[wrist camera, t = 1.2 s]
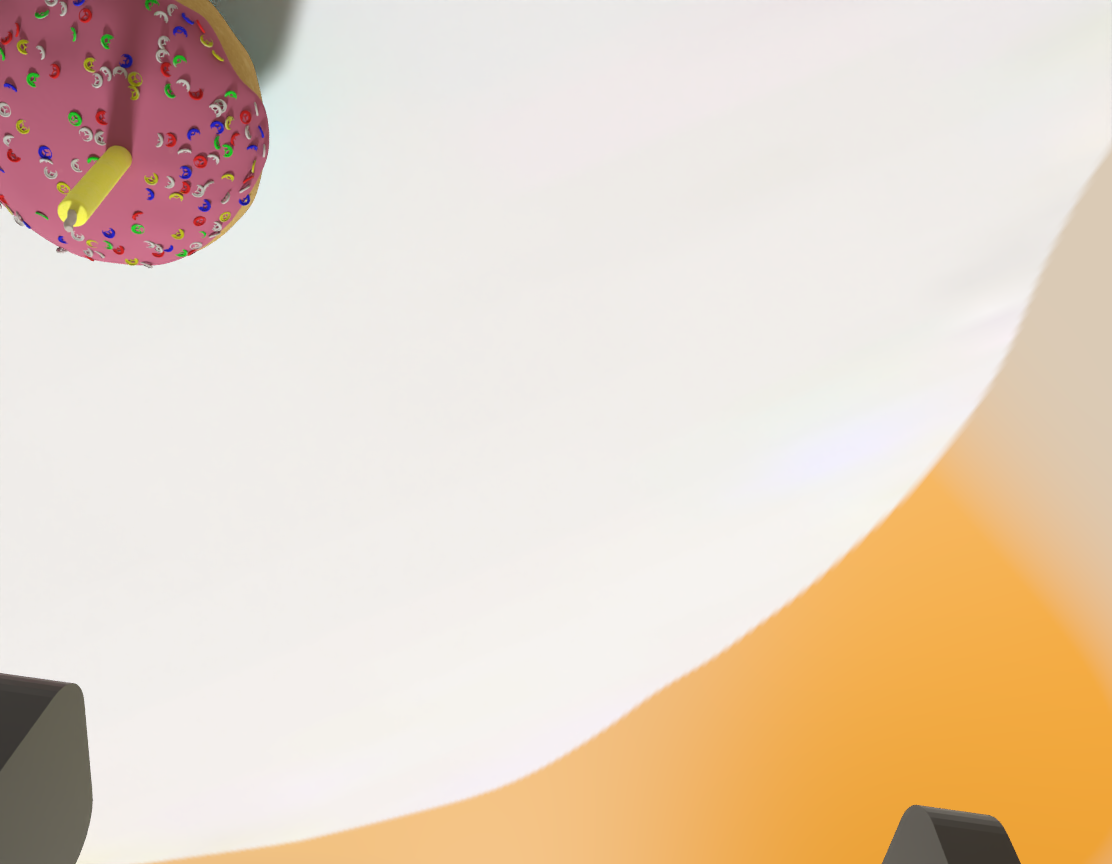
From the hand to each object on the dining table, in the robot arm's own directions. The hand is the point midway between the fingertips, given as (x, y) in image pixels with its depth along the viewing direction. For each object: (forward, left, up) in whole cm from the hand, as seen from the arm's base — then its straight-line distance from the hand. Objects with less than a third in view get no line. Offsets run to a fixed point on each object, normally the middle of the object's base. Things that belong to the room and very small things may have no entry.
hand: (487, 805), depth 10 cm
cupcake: (-12, 0, -27) cm, 29 cm away
